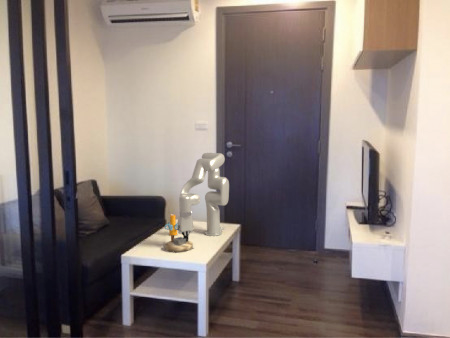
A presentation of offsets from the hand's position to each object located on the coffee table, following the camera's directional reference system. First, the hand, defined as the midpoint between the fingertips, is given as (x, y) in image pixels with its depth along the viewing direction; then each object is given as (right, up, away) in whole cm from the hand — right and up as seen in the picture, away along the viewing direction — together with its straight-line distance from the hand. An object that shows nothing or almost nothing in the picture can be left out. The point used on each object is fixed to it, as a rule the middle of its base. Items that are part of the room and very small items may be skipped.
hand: (186, 241), depth 286 cm
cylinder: (-12, -1, +29) cm, 31 cm away
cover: (-4, -1, -3) cm, 5 cm away
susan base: (-4, -4, -3) cm, 7 cm away
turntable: (-4, -4, -3) cm, 7 cm away
